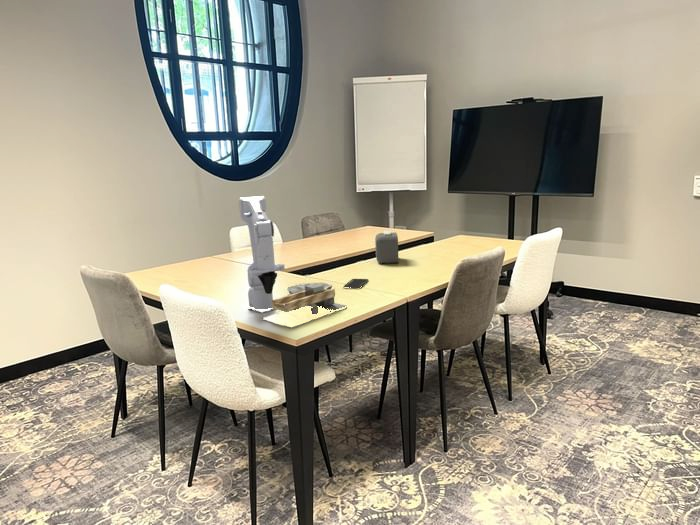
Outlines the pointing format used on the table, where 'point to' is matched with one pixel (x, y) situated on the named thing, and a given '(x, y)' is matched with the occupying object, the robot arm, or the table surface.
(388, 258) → the alarm clock
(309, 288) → the steel block
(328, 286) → the brain slice
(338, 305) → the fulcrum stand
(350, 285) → the phone
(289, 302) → the balance beam
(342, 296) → the table surface
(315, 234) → the table surface
